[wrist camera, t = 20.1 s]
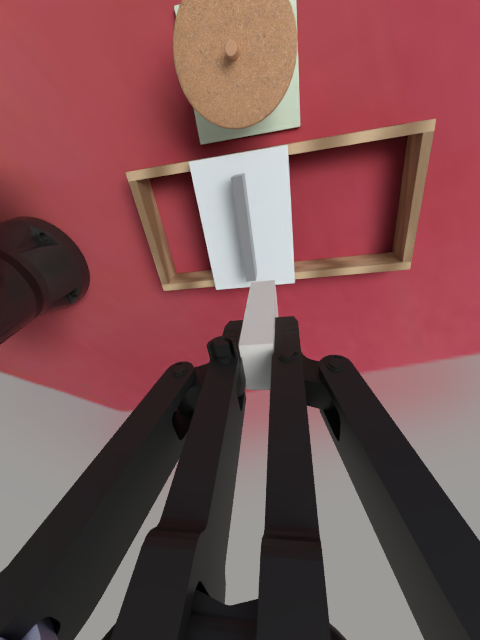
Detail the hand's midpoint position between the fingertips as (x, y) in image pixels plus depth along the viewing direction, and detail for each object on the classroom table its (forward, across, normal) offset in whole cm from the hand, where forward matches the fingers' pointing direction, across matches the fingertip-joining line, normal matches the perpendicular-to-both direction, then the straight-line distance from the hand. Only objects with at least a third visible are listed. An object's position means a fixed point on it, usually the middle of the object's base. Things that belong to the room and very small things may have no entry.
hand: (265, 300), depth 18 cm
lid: (+20, -3, 0) cm, 20 cm away
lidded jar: (+24, -2, +15) cm, 29 cm away
